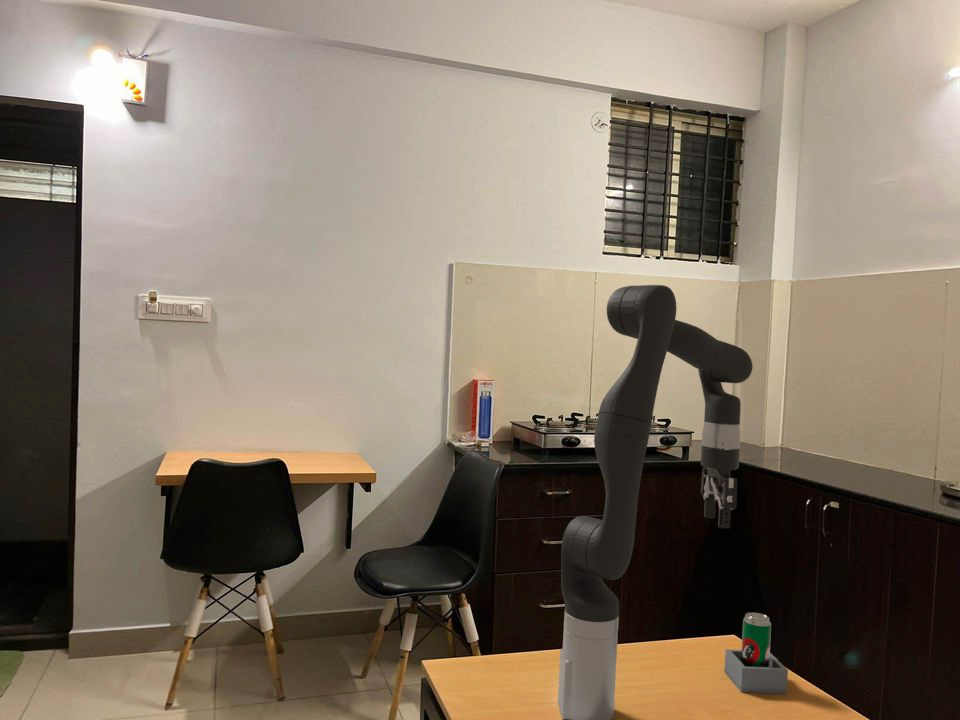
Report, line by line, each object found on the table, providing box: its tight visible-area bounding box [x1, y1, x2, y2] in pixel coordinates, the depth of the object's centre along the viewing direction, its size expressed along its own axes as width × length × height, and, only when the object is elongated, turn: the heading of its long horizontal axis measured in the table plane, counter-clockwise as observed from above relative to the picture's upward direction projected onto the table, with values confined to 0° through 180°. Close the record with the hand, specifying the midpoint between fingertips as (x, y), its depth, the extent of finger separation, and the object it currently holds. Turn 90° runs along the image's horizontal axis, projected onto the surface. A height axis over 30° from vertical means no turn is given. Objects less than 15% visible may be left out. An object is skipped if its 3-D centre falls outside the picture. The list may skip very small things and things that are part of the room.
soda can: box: [741, 612, 772, 667], centre depth 140 cm, size 5×5×12 cm
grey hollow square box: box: [724, 648, 789, 695], centre depth 140 cm, size 9×9×4 cm
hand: (716, 522), depth 150 cm, fingers open, 8 cm apart
